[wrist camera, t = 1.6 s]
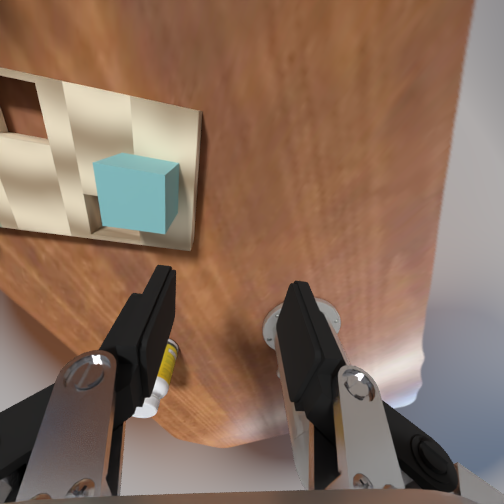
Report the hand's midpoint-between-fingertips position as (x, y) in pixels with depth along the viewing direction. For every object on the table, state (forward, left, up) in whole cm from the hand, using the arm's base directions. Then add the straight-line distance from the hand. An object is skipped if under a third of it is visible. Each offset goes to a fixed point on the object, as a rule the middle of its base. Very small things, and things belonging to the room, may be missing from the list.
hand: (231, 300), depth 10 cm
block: (0, +8, -15) cm, 17 cm away
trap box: (0, +17, -17) cm, 24 cm away
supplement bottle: (-28, +8, -18) cm, 34 cm away
